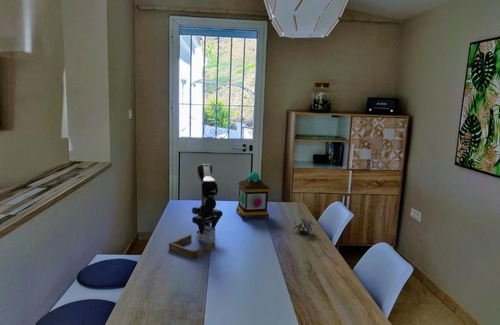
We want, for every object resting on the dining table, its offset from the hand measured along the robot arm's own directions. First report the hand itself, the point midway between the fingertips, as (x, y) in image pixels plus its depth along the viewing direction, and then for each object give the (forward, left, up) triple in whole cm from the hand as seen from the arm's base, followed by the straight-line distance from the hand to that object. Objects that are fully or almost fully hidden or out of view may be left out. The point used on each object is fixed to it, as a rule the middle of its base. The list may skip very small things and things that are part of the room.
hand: (207, 231), depth 193 cm
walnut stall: (+11, 0, -6) cm, 12 cm away
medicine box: (0, 0, -6) cm, 6 cm away
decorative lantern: (-53, -5, -6) cm, 54 cm away
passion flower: (-46, +35, -6) cm, 58 cm away
